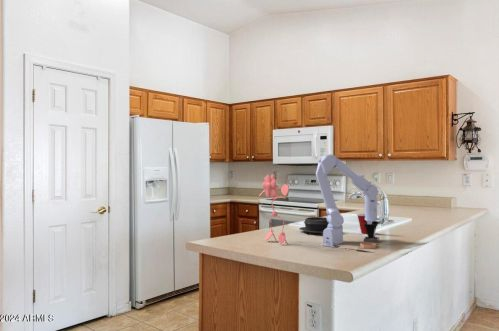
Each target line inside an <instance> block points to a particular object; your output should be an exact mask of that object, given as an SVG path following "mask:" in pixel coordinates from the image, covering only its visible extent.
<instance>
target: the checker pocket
mask: <svg viewBox="0 0 499 331" xmlns="http://www.w3.org/2000/svg"><path fill="white" fill-rule="evenodd" d="M375 238H376V239H368V236H364V238H363V240H364V242H373V243H378V242H379V240H380V237H379V236H375Z"/></svg>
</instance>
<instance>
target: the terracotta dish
mask: <svg viewBox="0 0 499 331" xmlns="http://www.w3.org/2000/svg"><path fill="white" fill-rule="evenodd" d="M359 246H360V247H361V248H366V249H365V250H374V249H373V248H376V244H375V243H370V242H364V243H362V242H360V243H359Z"/></svg>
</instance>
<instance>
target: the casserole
mask: <svg viewBox="0 0 499 331" xmlns="http://www.w3.org/2000/svg"><path fill="white" fill-rule="evenodd" d="M303 224H304V226H303V227H299V230H300V231H304V232H306V233H308V234H311V235H323V231H324V229H326V228H327V227H328V224H329V223H328V222H327V216H326V217H325V216H321V217H320V216H312V217H311V216H310V217H307V218H305V220H304V221H303Z"/></svg>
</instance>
